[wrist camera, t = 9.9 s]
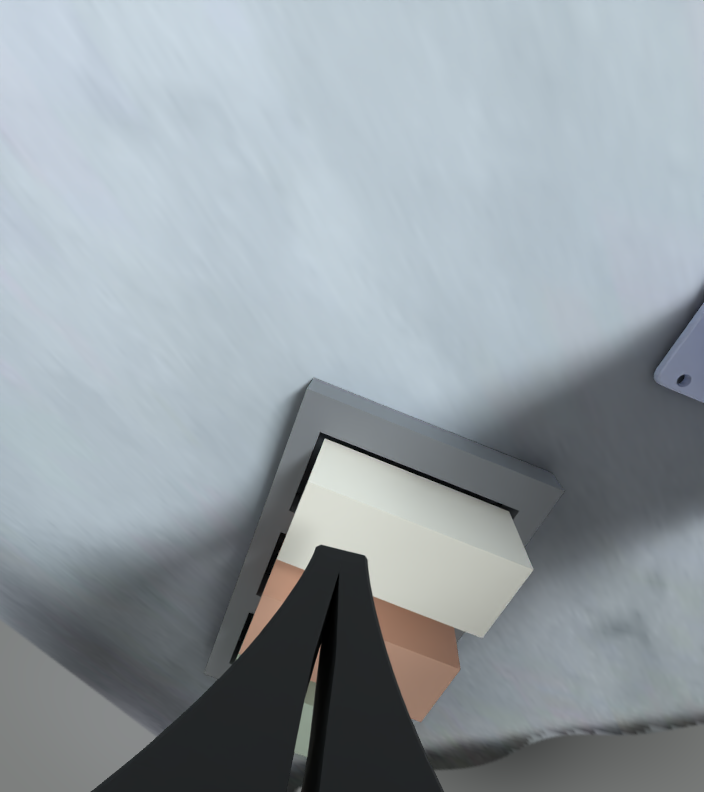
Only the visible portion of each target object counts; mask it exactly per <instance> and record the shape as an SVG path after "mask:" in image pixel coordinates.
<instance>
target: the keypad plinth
mask: <svg viewBox="0 0 704 792" xmlns="http://www.w3.org/2000/svg"><path fill="white" fill-rule="evenodd" d="M320 432H321V433H324V434H326V435H329V436H332V437H334V438H337V439H339V440H342V441H344V442H347V443H349V444H352V445H354V446H357V447H359V448H362V449H364V450H367V451H369V452H372V453H375V454H377V455H380V456H382V457H385V458H387V459H390V460H392V461H395V462H397V463H400V464H402V465H405V466H407V467H410V468H412V469H415V470H417V471H420V472H423V473H425V474H428V475H430V476H433V477H435V478H438V479H440V480H443V481H445V482H448V483H450V484H453V485H455V486H458V487H460V488H463V489H465V490H468V491H471V492H473V493H476V494H478V495H481V496H483V497H486V498H488V499H491V500H493V501H496V502H498V503H501V504H502V506H501V507H500V508H502V509H504V510H507V511H509V512H510V515H511V517H512V519H513V522H514V524H515V527H516V529H517V531H518V534H519V536H520V538H521V541H522V543H523V546H524V548H525V546H526V545H527V544H528V542H529V541H530V539H531V538H532V537H533V535H534V534H535V532H536V531H537V530H538V528H539V527H540V525H541V524H542V523H543V521H544V520H545V518H546V517H547V516H548V514H549V513H550V511H551V510H552V509H553V507H554V506H555V504H556V503H557V502H558V500H559V499H560V497H561V496H562V495H563V493H564V492H565V491H564V489H563V488H562V486H561V485H560V484H559V482H558V481H557V479H556V478H555V476H554V475H553V473H551V472H549V471H546V470H544V469H541V468H539V467H536V466H534V465H531V464H529V463H526V462H524V461H521V460H519V459H516V458H514V457H511V456H509V455H506V454H504V453H501V452H499V451H496V450H494V449H491V448H489V447H486V446H484V445H481V444H479V443H476V442H474V441H471V440H469V439H466V438H464V437H461V436H459V435H456V434H454V433H451V432H449V431H446V430H444V429H441V428H439V427H436V426H434V425H431V424H429V423H426V422H424V421H421V420H419V419H416V418H414V417H411V416H409V415H406V414H404V413H401V412H399V411H396V410H394V409H391V408H389V407H386V406H384V405H381V404H379V403H376V402H374V401H371V400H369V399H366V398H364V397H361V396H359V395H356V394H354V393H351V392H349V391H346V390H344V389H341V388H339V387H336V386H334V385H331V384H329V383H326V382H324V381H321V380H319V379H316V378H313V380H312V381H311V383H310V384H309V386H308V387H307V389H306V392H305V395H304V398H303V400H302V403H301V406H300V409H299V411H298V414H297V417H296V420H295V423H294V425H293V428H292V431H291V434H290V436H289V439H288V442H287V445H286V447H285V450H284V453H283V456H282V458H281V461H280V464H279V467H278V470H277V472H276V475H275V478H274V481H273V483H272V486H271V489H270V492H269V494H268V497H267V500H266V503H265V505H264V508H263V511H262V514H261V517H260V519H259V522H258V525H257V528H256V530H255V533H254V536H253V539H252V541H251V544H250V547H249V550H248V552H247V555H246V558H245V561H244V564H243V566H242V569H241V572H240V575H239V577H238V580H237V583H236V586H235V588H234V591H233V594H232V597H231V599H230V602H229V605H228V608H227V610H226V613H225V616H224V619H223V622H222V624H221V627H220V630H219V633H218V635H217V638H216V641H215V644H214V646H213V649H212V652H211V655H210V657H209V660H208V663H207V666H206V669H205V671H204V674H206V675H208V676H211V677H214V678H216V679H219V678H220V677H221V676H222V675H223V674H224V673H225V672H226V671H227V670H228V669H229V668H230V666H231V665H232V664H233V663H234V662H235V661H236V658H237V655H238V653H239V651H240V648H241V646H242V643H243V642H242V641H239V637H240V635H241V632H242V630H243V627H244V625H245V622H246V620H247V617H248V615H249V612H250V613H253V614H255V611H256V609H257V606H258V604H259V601H260V598H261V596H262V593H263V591H264V588H265V586H266V583H267V581H268V578H269V576H270V575H267V574H265V571H266V569H267V566H268V564H269V561H270V559H271V556H272V554H273V551H274V549H275V546H276V544H277V541H278V539H279V536H280V533H281V532H282V533H284V534H287V532H288V529H289V527H290V524H291V522H292V519H293V517H294V514H295V511H296V509H297V506H298V504H299V501H300V499H301V496H302V495H301V494H298V493H297V490H298V488H299V485H300V483H301V480H302V478H303V475H304V473H305V470H306V468H307V465H308V462H309V460H310V457H311V455H312V452H313V450H314V447H315V445H316V442H317V440H318V437H319V435H320ZM454 630H455V636H456V643H457V642H458V640H459V639H460V638H461V636H462V635H463V633H464V632H465V631H462V630H459V629H457V628H454Z"/></svg>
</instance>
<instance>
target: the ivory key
mask: <svg viewBox="0 0 704 792" xmlns="http://www.w3.org/2000/svg"><path fill="white" fill-rule="evenodd" d="M319 545H325V546H329V547H333V548H337V549H341V550H345V551H349V552H353V553H357V554H361V555H365V556H366V558H367V559H368V570H369V578H370V584H371V589H372V594H373V596H374V597H376V598H379V599H381V600H384V601H387V602H389V603H392V604H394V605H397V606H400V607H402V608H405V609H407V610H410V611H413V612H415V613H418V614H420V615H423V616H426V617H428V618H431V619H433V620H436V621H439V622H441V623H444V624H446V625H449V626H452V627H454V628H457V629H459V630H462V631H465V632H467V633H470V634H472V635H475V636H478V637H480V638H483V637H484V636H485V634H486V633H487V632H488V630H489V629H490V628H491V626H492V625H493V624H494V622H495V621H496V619H497V618H498V617H499V615H500V614H501V613H502V611H503V610H504V609H505V607H506V606H507V605H508V603H509V602H510V601H511V599H512V598H513V597H514V595H515V594H516V593H517V591H518V590H519V589H520V587H521V586H522V585H523V583H524V582H525V581H526V579H527V578H528V577H529V575H530V574H531V573H532V571H533V570H534V569H533V567H532V565H531V562H530V560H529V557H528V555H527V553H526V550H525V548H524V546H523V543H522V541H521V538H520V536H519V534H518V531H517V529H516V527H515V524H514V522H513V519H512V517H511V515H510V512H509V511H507V510H504V509H502V508H499V507H497V506H494V505H492V504H489V503H487V502H484V501H482V500H479V499H477V498H474V497H472V496H469V495H467V494H464V493H461V492H459V491H456V490H454V489H451V488H449V487H446V486H444V485H441V484H439V483H436V482H434V481H431V480H429V479H426V478H424V477H421V476H418V475H416V474H413V473H411V472H408V471H406V470H403V469H401V468H398V467H396V466H393V465H391V464H388V463H386V462H383V461H381V460H378V459H375V458H373V457H370V456H368V455H365V454H363V453H360V452H358V451H355V450H353V449H350V448H348V447H345V446H343V445H340V444H338V443H335V442H332V441H330V440H327V439H324V442H323V444H322V447H321V449H320V452H319V454H318V457H317V459H316V462H315V464H314V467H313V469H312V472H311V474H310V476H309V479H308V481H307V484H306V486H305V489H304V491H303V494H302V496H301V499H300V501H299V504H298V506H297V509H296V511H295V514H294V517H293V519H292V522H291V524H290V527H289V529H288V532H287V534H286V537H285V540H284V542H283V545H282V547H281V550H280V552H279V555H278V557H277V560H280V561H283V562H285V563H288V564H290V565H293V566H296V567H298V568H301V569H303V570H305V569H306V567H307V565H308V563H309V562H310V560H311V558H312V555H313V553H314V551H315V548H316V547H317V546H319Z"/></svg>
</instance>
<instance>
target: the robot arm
mask: <svg viewBox="0 0 704 792" xmlns="http://www.w3.org/2000/svg"><path fill="white" fill-rule="evenodd" d="M681 375H685V378H684V380H683V381H682V382H681V383H678V384H677V379H678V378H679V377H680V376H681ZM654 379H655V381H656V382H657V383H658V384H660V385H662V386H664V387H666V388H669V389H671V390H674V391H676V392H678V393H681V394H683V395H686V396H688V397H691V398H693V399H695V400H698V401H700V402H703V403H704V303H703V304H702V306H701V307H700V309H699V310H698V311H697V313H696V314H695V316H694V317H693V318H692V320H691V321H690V323H689V324H688V325H687V327H686V328H685V330H684V331H683V332H682V334H681V335H680V336H679V338H678V339H677V341H676V342H675V343H674V345H673V346H672V348H671V349H670V350H669V352H668V353H667V355H666V356H665V357H664V359H663V360H662V362H661V363H660V364H659V366H658V367H657V369H656V370H655V373H654ZM320 645H321V646H320ZM319 648H320V654H319V663H318V671H317V680H316V688H315V697H314V706H313V714H312V723H311V732H310V740H309V748H308V755H307V762H306V768H305V774H304V779H303V785H302V790H301V792H444V791H443V789H442V787H441V784H440V783H439V780H438V778H437V776H436V774H435V772H434V770H433V768H432V765H431V763H430V761H429V759H428V757H427V755H426V753H425V751H424V748H423V746H422V744H421V741H420V739H419V737H418V734H417V732H416V729H415V727H414V725H413V722H412V720H411V717H410V715H409V712H408V710H407V707H406V705H405V702H404V699H403V697H402V694H401V691H400V689H399V686H398V683H397V680H396V677H395V674H394V672H393V668H392V665H391V662H390V659H389V656H388V653H387V650H386V646H385V643H384V639H383V636H382V632H381V628H380V624H379V620H378V617H377V613H376V609H375V604H374V599H373V594H372V589H371V584H370V578H369V570H368V559H367V558H366V556H365V555H361V554H357V553H353V552H349V551H345V550H341V549H337V548H333V547H329V546H325V545H319V546H317V547H316V548H315V551H314V553H313V555H312V558H311V560H310V562H309V563H308V565H307V567H306V569H305V571H304V572H303V574H302V576H301V577H300V579H299V580H298V582H297V584H296V585H295V586H294V588H293V589H292V591H291V592H290V594H289V595H288V597H287V598H286V600H285V601H284V602H283V604H282V605H281V607H280V608H279V609H278V611H277V612H276V613H275V614H274V616H273V617H272V618H271V620H270V621H269V622H268V623H267V625H266V626H265V627H264V628H263V630H262V631H261V632H260V633H259V635H258V636H257V637H256V638H255V639H254V641H253V642H252V643H251V644H250V645H249V646H248V648H247V649H246V650H245V651H244V652H243V653H242V654H241V655H240V657H239V658H238V659H237V660H236V661H235V662H234V663H233V664H232V665H231V666H230V668H229V669H228V670H227V671H226V672H225V673H224V674H223V675H222V676H221V677H220V678H219V679H218V680H217V681H216V682H215V683H214V684H213V685H212V686H211V687H210V688H209V689H208V690H207V691H206V692H205V693H204V694H203V695H202V696H201V697H200V698H199V699H198V700H197V701H196V702H195V703H194V704H193V705H192V706H191V707H190V708H189V709H188V710H186V711H185V712H184V713H183V714H182V715H181V716H180V717H179V718H178V719H176V720H175V721H174V722H173V723H172V724H171V725H170V726H169V727H168V728H166V729H165V730H164V731H163V732H162V733H161V734H160V735H159V736H157V737H156V738H155V739H154V740H153V741H152V742H151V743H150V744H149V745H147V746H146V747H145V748H144V749H143V750H142V751H140V752H139V753H138V754H137V755H136V756H135V757H133V758H132V759H131V760H130V761H128V762H127V763H126V764H125V765H124V766H122V767H121V768H120V769H119V770H117V771H116V772H115V773H114V774H112V775H111V776H110V777H109V778H107V779H106V780H105V781H104V782H102V784H100V785H99V786H97V788H95V789H94V790H92V791H91V792H286V791H287V786H288V781H289V776H290V771H291V765H292V760H293V755H294V750H295V745H296V740H297V735H298V730H299V725H300V720H301V715H302V710H303V705H304V700H305V697H306V693H307V690H308V686H309V683H310V679H311V676H312V672H313V669H314V666H315V662H316V659H317V655H318V652H319Z"/></svg>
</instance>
